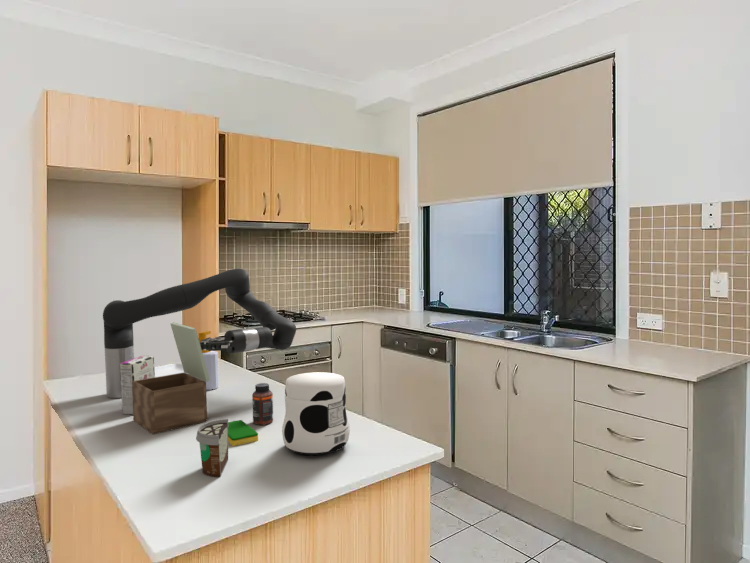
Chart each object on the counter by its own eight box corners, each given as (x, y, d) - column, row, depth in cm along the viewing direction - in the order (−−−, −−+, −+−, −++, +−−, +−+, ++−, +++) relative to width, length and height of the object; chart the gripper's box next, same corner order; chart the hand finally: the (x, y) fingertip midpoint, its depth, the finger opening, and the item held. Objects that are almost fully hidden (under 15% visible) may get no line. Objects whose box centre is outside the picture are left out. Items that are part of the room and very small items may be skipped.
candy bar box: (143, 404, 178) (141, 355, 177) (156, 404, 177) (155, 355, 176) (121, 414, 167) (118, 362, 166) (135, 415, 166) (133, 363, 165)
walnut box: (133, 420, 161) (131, 381, 160) (185, 409, 172) (184, 372, 171) (152, 434, 149) (150, 392, 149) (207, 421, 160) (205, 381, 159)
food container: (204, 458, 132) (202, 419, 131) (229, 457, 133) (228, 418, 132) (191, 481, 120) (189, 437, 119) (219, 479, 120) (218, 436, 120)
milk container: (289, 435, 148) (288, 371, 147) (352, 435, 147) (351, 371, 146) (276, 460, 131) (274, 388, 129) (346, 461, 130) (346, 388, 129)
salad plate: (209, 376, 216) (209, 368, 216) (164, 388, 198) (164, 379, 198) (175, 370, 227) (175, 362, 227) (129, 381, 209) (129, 372, 209)
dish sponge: (232, 447, 140) (232, 438, 140) (216, 432, 152) (216, 424, 152) (258, 442, 144) (258, 433, 144) (241, 427, 156) (241, 419, 156)
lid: (170, 323, 168) (173, 322, 168) (184, 372, 171) (187, 370, 172) (192, 329, 155) (195, 328, 156) (206, 381, 159) (210, 380, 160)
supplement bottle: (277, 420, 160) (276, 383, 160) (265, 426, 155) (264, 388, 154) (261, 417, 163) (260, 381, 162) (248, 423, 158) (247, 385, 157)
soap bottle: (224, 386, 199) (223, 332, 197) (207, 392, 192) (205, 335, 190) (200, 382, 206) (199, 329, 204) (183, 386, 199) (181, 332, 198)
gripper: (231, 326, 180) (181, 332, 168) (251, 331, 171) (199, 338, 159) (232, 349, 181) (182, 356, 169) (252, 354, 171) (200, 363, 159)
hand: (190, 347), depth 164 cm, fingers closed
